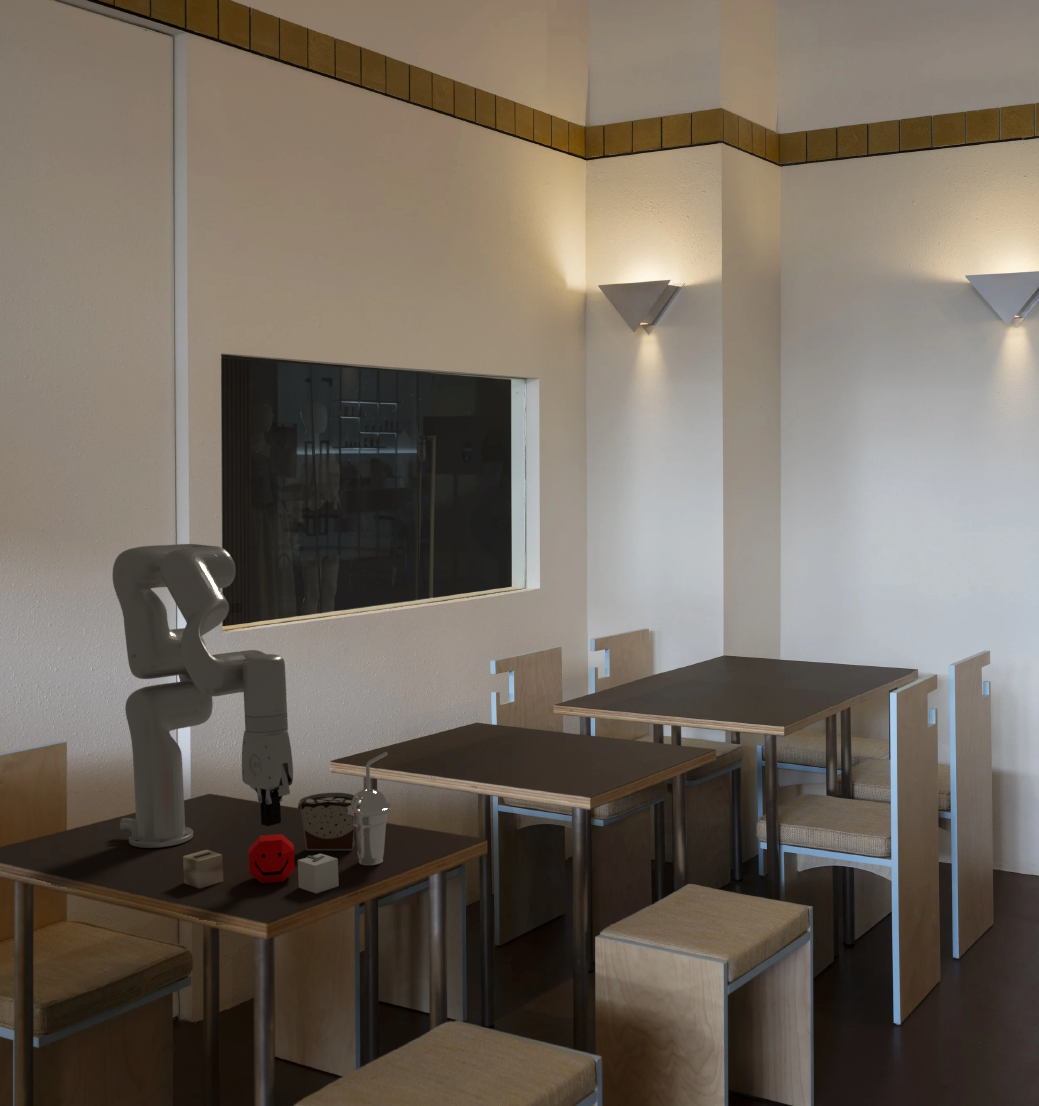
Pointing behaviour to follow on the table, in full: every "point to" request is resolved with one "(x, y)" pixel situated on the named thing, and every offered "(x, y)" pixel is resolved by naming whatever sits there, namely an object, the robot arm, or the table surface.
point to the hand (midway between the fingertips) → (271, 823)
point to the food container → (327, 821)
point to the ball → (271, 858)
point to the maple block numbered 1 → (203, 868)
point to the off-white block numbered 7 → (318, 873)
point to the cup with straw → (369, 820)
